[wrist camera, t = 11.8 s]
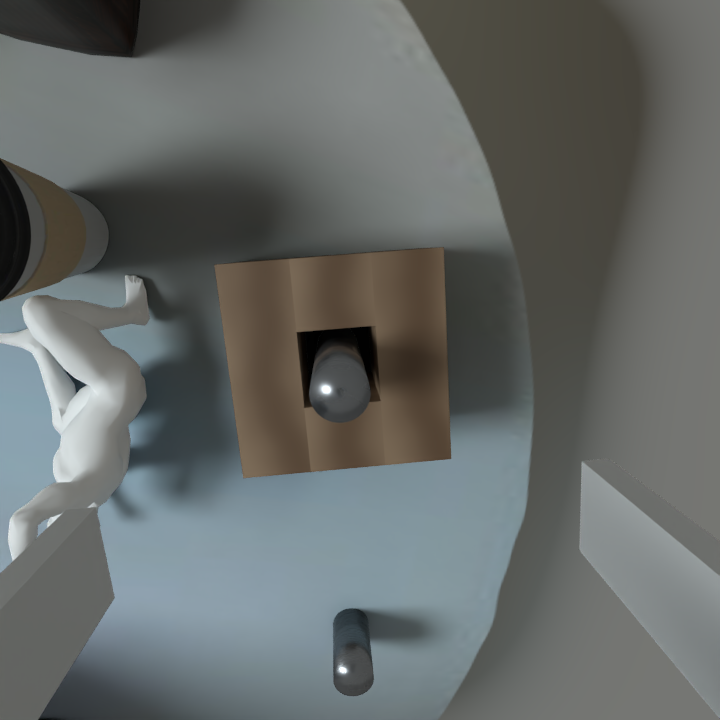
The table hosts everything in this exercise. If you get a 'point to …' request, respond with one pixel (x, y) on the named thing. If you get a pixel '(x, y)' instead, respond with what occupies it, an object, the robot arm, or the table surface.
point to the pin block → (291, 370)
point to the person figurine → (81, 401)
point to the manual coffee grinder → (74, 24)
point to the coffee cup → (44, 232)
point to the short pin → (352, 653)
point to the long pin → (339, 377)
